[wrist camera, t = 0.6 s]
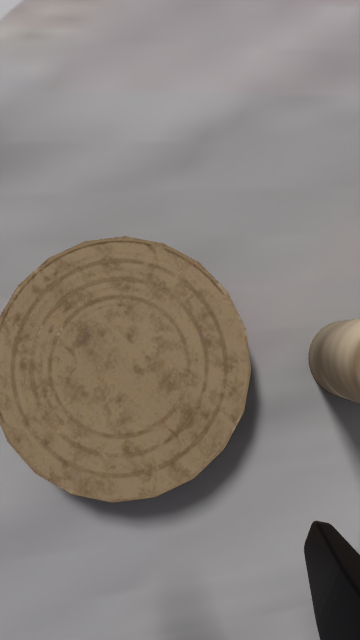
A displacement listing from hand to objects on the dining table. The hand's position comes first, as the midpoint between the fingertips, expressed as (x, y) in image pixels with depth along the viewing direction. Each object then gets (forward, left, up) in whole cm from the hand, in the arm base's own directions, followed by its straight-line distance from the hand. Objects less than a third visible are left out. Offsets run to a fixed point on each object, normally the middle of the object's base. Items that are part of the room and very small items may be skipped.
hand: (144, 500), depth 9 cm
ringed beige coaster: (+3, +3, -14) cm, 14 cm away
